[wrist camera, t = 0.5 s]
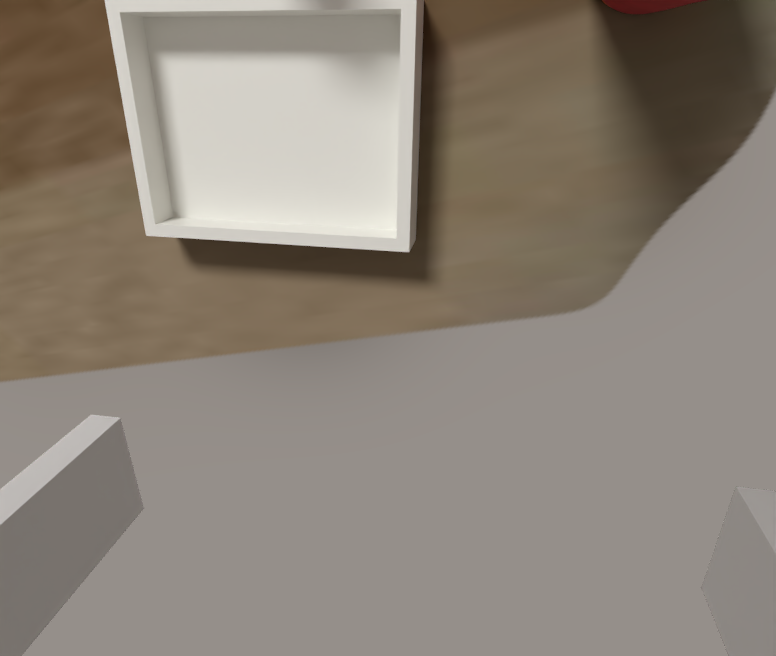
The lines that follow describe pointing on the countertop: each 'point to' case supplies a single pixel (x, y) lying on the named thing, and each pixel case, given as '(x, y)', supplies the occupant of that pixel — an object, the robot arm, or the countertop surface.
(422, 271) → the countertop surface
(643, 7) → the coffee cup
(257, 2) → the bin
